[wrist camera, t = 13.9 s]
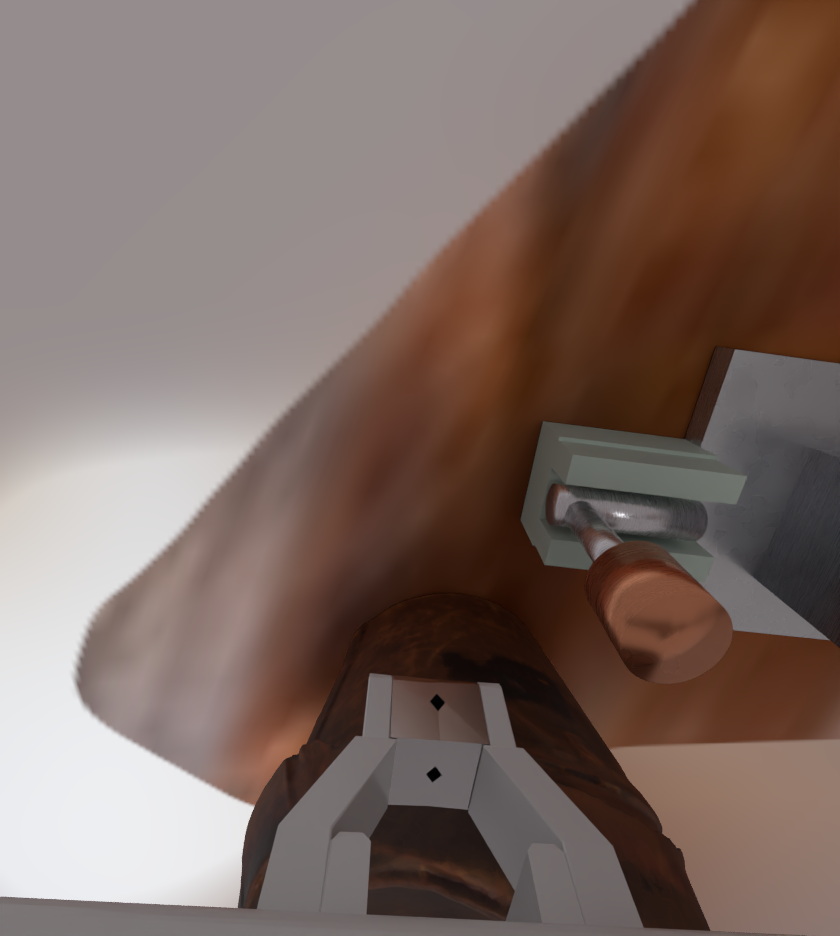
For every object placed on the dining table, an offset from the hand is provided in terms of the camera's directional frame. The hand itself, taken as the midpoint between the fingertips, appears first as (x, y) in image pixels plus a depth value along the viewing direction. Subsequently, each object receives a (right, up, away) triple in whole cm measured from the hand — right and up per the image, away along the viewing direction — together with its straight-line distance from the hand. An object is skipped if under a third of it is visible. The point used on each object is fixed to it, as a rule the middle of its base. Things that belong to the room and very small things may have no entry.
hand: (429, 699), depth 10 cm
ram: (+9, +4, +12) cm, 16 cm away
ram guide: (+10, +5, +16) cm, 19 cm away
